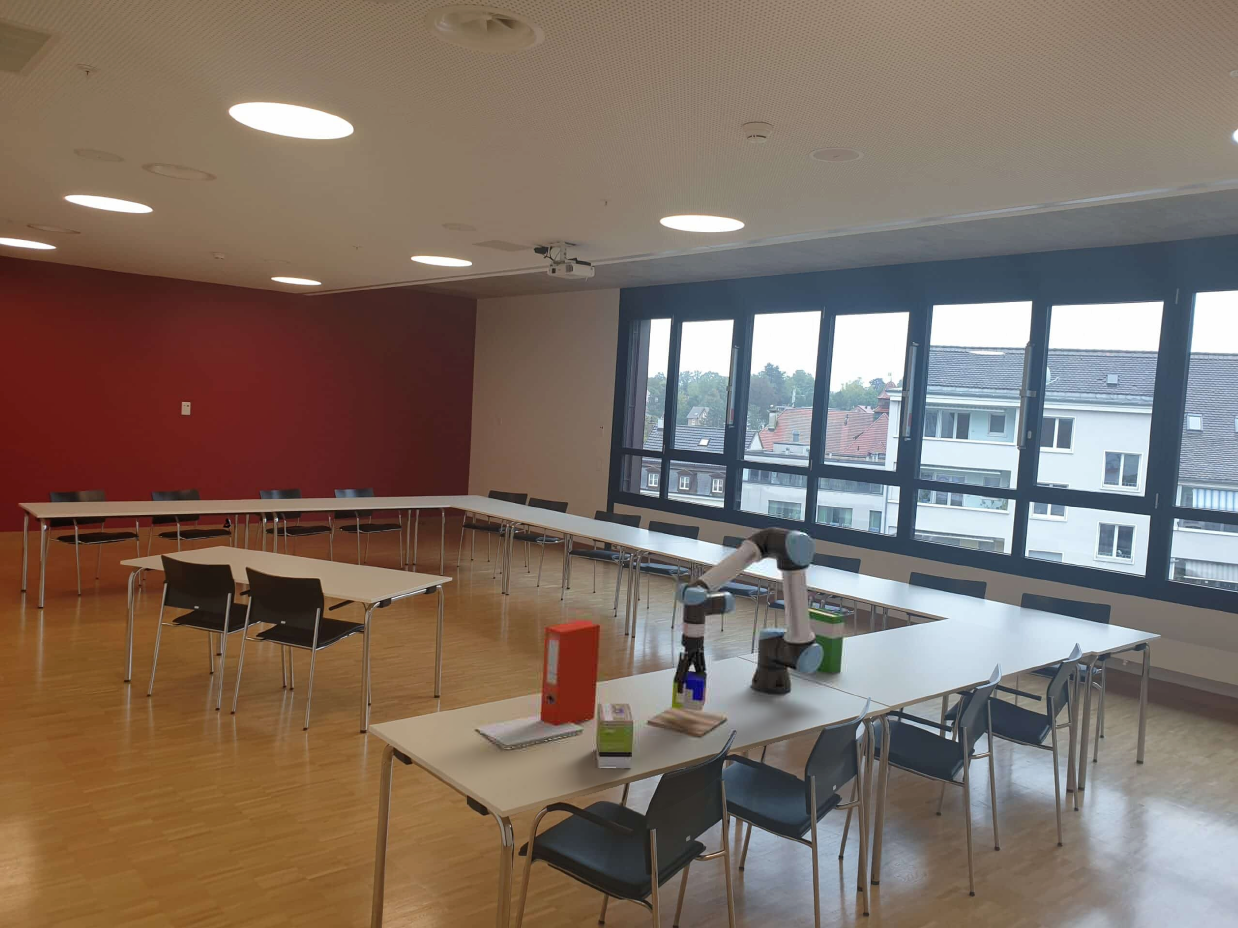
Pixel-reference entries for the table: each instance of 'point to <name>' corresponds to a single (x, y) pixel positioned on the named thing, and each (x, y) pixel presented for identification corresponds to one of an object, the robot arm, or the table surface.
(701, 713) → the walnut board
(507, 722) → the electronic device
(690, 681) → the puzzle toy
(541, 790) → the table surface
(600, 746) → the tea box
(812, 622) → the hardback book
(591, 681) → the file binder
